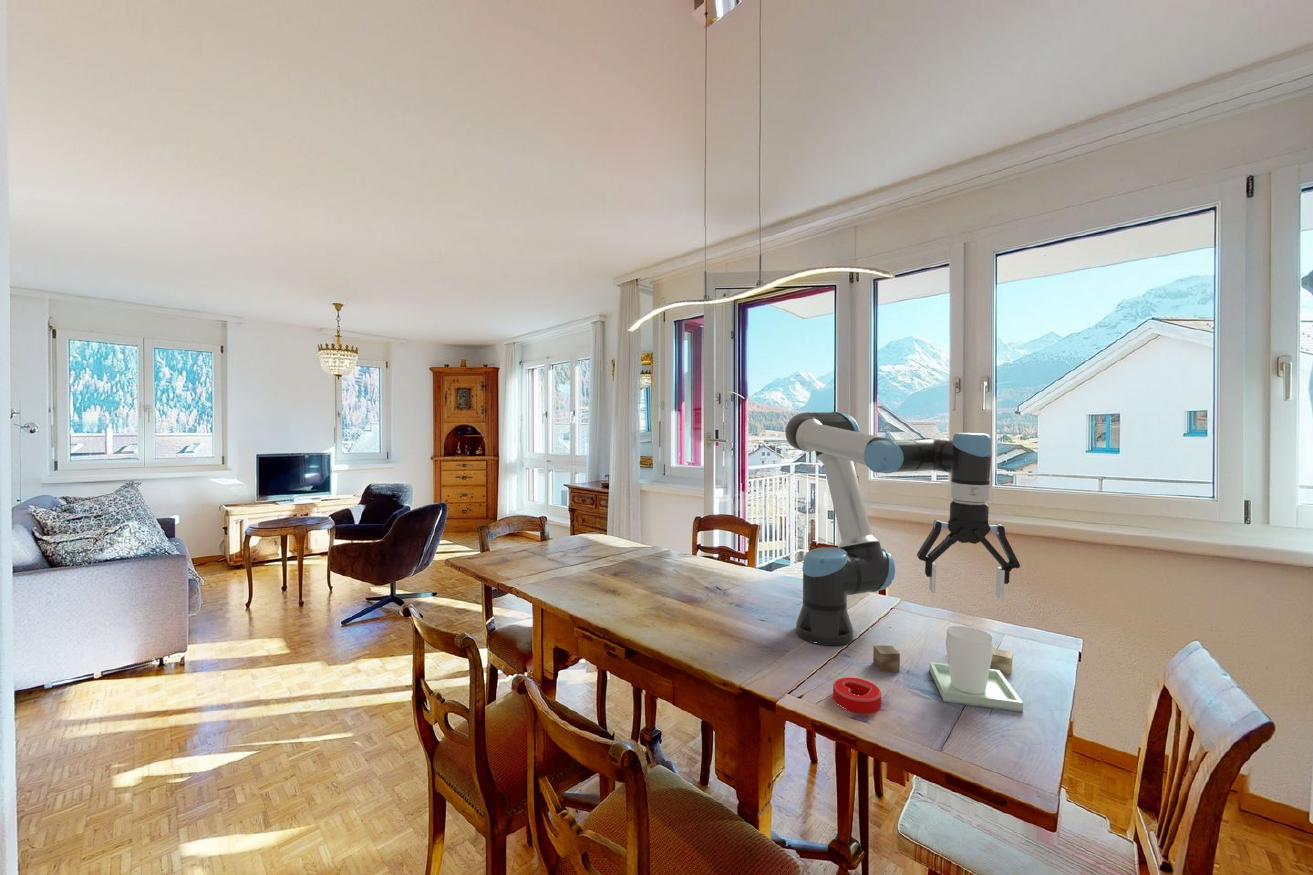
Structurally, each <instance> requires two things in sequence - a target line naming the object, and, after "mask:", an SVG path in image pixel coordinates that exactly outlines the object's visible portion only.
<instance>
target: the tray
mask: <svg viewBox="0 0 1313 875" xmlns="http://www.w3.org/2000/svg"><path fill="white" fill-rule="evenodd" d="M928 669H929V672H930V675H931V677H932V679H933V681H934V683H935V685H936V687H937V690H938V692H939V695H940V697H941V699H942V701H943V702H945V703H950V704H956V705H957V704H958V705H965V706H971V707H980V708H981V707H982V708H987V709H995V710H1003V711H1010V712H1017V713H1018V712H1019V713H1024V702H1023V701H1022V699H1021V697H1019V695H1018V694H1017V692H1016V691H1015V689H1014V688H1013V687H1012V686H1011V684H1010V683H1009V681H1008V680H1007V679H1006V677H1005V676H1004V673H1002V672H1000V670H995V669H990V670H989V676H988V681H987V686H986V691H985V692H984V693H981V694H970V693H966V692H963V691H960V690H958V689H956V688H955V687H954V686H953V685H952V684H951V678H950V671H949V664H948V663H940V662H934V661H929V668H928Z"/></svg>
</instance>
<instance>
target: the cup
mask: <svg viewBox="0 0 1313 875" xmlns="http://www.w3.org/2000/svg"><path fill="white" fill-rule="evenodd" d="M945 638H946V639H945V648H946V654H947V655H946V656H947V664H949V671H950V678H951V684H952V685H953V686H954V687H955V688H956V689H958V690H960V691H963V692H966V693H970V694H981V693H984V692H985V691H986V686H987V681H988V676H989V670H990V665H991V660H992V655H993V648H994V647H993V646H994V645H993V637H992V635H991V634H990V633H988V632H986V631H984V630H982V629H979V628H975V627H971V626H965V625H964V626H963V625H955V626H954V625H953V626H950V627H948V628H947V629H946V637H945Z"/></svg>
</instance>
